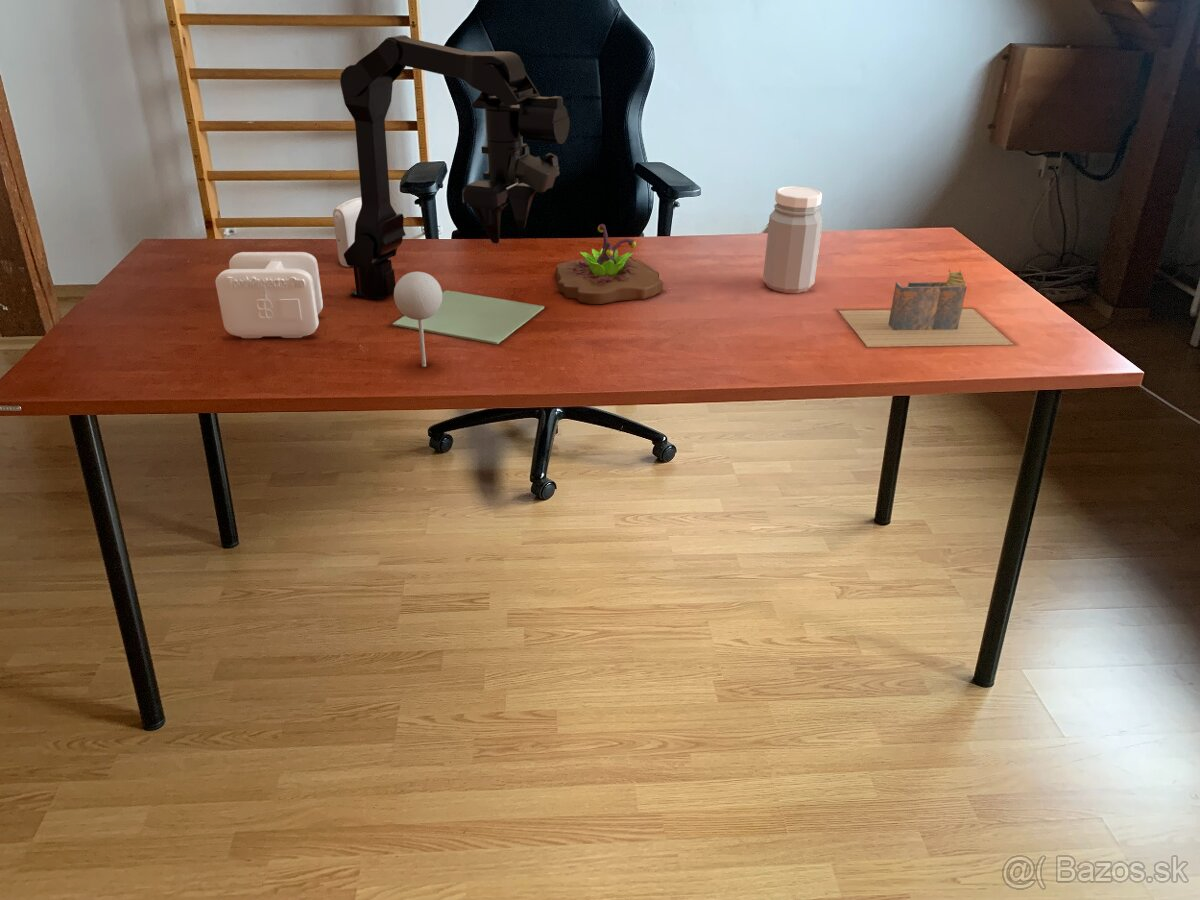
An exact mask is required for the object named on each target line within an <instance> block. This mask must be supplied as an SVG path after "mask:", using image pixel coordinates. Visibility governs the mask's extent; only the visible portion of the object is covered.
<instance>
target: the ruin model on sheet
mask: <svg viewBox="0 0 1200 900" xmlns="http://www.w3.org/2000/svg"><path fill="white" fill-rule="evenodd" d="M967 288H968V287H967V286H966V280H965V278H964V275H963V272H962V270H961V269H959V271H951V269H948V278H947V281H932V282H931V281H926V282H925V281H921V282H920V281H917V282H910V281H909V282H908V285H907V286H902V285H901V284H900V283H899V282H895V286H894V292H893V296H892V302H891V309H860V310H859V309H857V310H853V309H852V310H848V309H847V310H838V312H839V313H840V315H841V316H842V318H844V320H845V321H846V323H847V324H848V325H849V326H850V328H851V329H852V330H853V331H854V333H856V335H857V336H858V337H859V338H860V340H862V342H863V343H864V345H865V346H866V347H867V348H878V347H879V348H880V347H885V348H886V347H944V346H945V347H947V346H949V347H950V346H1005V345H1006V346H1008V345H1012V346H1013V345H1015V344H1014V343H1012V342H1011V340H1009V339H1008V338H1007V337H1006V336H1004V335H1003V334H1002V333H1001V332H1000V331H999V330H998V329H996V327H994V326H993V325H992V324H991V323H989V321H988V320H986V319H985V318H984V317H983V316H982V315H981V314H979V313H978V312H977V311H976V310H975V309H973V308H963V306H964V302H965V298H966V297H965V296H966V292H967Z"/></svg>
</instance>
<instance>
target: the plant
mask: <svg viewBox="0 0 1200 900" xmlns="http://www.w3.org/2000/svg"><path fill="white" fill-rule="evenodd" d="M597 231H598V233H602V234H603V236H602V238H603V240H602V242H603V245H602V247H601V249H600V251H598V250H597V249H595V248H591V254H590V253H587V252H585V251H580V252H579V253H580V255H581V256H582V257H583V258H580V259H576V260H570V261H563V262H560V263H557V265H556V266H555V267H556V268H555V278H556V279H557V280H556V281H557V292H558V293H561V294H563V296H564V298H565V299H571V300H572V299H573V300H577V301H578V303H581V304H586V305H604V304H611V303H614V302H621V301H633V300H646V299H647V298H652V297H654V296H656V295H657V294H659V293H662V292H663V285H664V284H663V280H662V279H660V272H659V271H658V270H656V269H653V268H652V267H650V266H649V264H647V263H645V262H644V261H642V260H640V259H636V258H633V257H631V256H632V255H633V252H632V251H631V252H626V253H623V254H622V255H619V254H618V253H619V251H618V248H619V247H620V246H621V245H622V244H625V243H628V245H629V247H630V248H631V249H635V248H636V247H637V242H636V241H635V240H634V239H631V238H623V239H621V240H619V241H618V242H616V243H615V245H613V246H612V242H610V241H609V235H608V232H607V228H606V225H605V224H604V223H601V224H599V225H598V227H597Z"/></svg>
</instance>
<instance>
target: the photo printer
mask: <svg viewBox="0 0 1200 900" xmlns="http://www.w3.org/2000/svg"><path fill="white" fill-rule="evenodd" d="M361 206H362V201H361V196H360V197H354V198H351V199H349V200H346V201H344V202H342V203H340V204H339V205H337V206H336V207H335V208H334V209H333V212H332V219H333V226H334V234H335V241H336V248H337V257H338V262H339V263H340V265H341V266H342V267H347V268H350V267H351V266H348V265H347V263H346V260H345V258H344V253H345V252H346V251H347V250H348V248H349V247H350V246H351V245H352V244H353V243H354V242H355V240H354V238H355V223H356V220H357V217H358V215H359V212H360V209H361Z"/></svg>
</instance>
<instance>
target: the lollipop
mask: <svg viewBox="0 0 1200 900" xmlns="http://www.w3.org/2000/svg"><path fill="white" fill-rule="evenodd" d="M395 285H396V286H395V289H394V293H393V301H394V304H395V306H396V309H398V311H399V312H400V313H401V314H402V315H403V316H407V317H408V318H411V319H415V320H418V325H419V330H418V334H419V335H418V336H419V348H420V361H421V367H423V368H425V367H427V358H426V347H425V336H424V331H423V321H422V319H427V318H429V317H431V316H433V315H434V314H435V313H436V312H437V311H438V309H439V308H440V305H441V302H442V293H443V289H442V287H441V285H440V283H439V282H438V280H437V279H436V278H435V277H433V275H431V274H429V273H427V272H423V271H411V272H407V273H406V274H404V275H403V276H402V277H400V278H399V279H398V281H397V282H396V283H395Z"/></svg>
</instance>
